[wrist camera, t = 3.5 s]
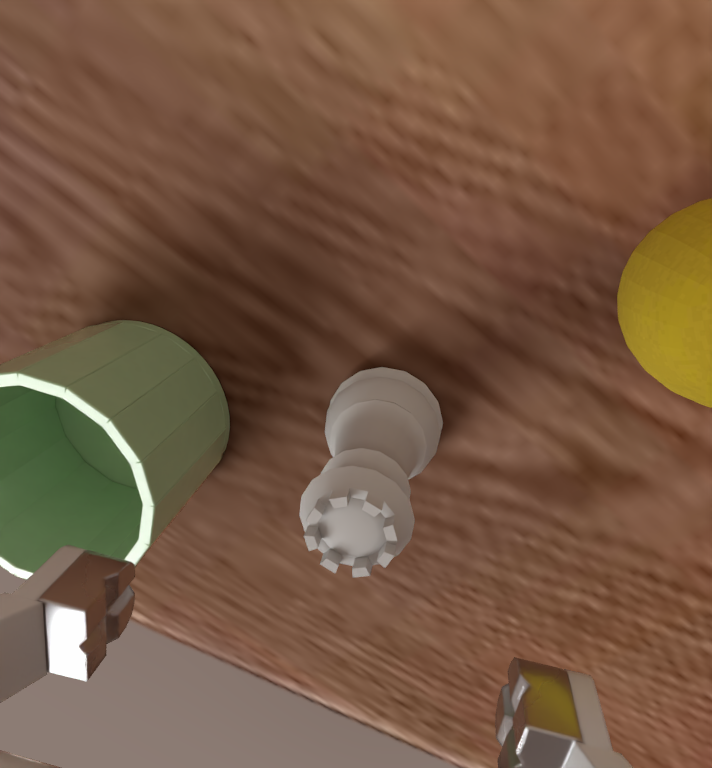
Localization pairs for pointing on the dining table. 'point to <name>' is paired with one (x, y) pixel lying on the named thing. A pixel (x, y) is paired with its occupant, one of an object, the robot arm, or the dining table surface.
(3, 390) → the cup
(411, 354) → the dining table surface
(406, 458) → the rook chess piece
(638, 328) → the lemon
